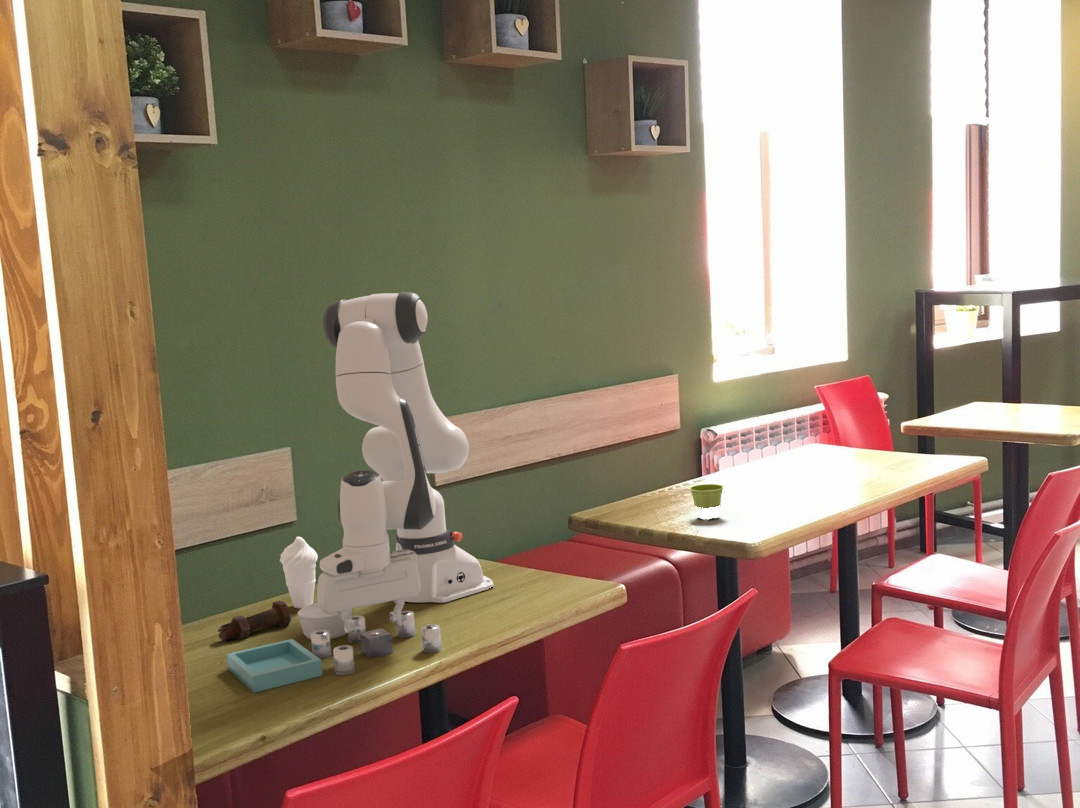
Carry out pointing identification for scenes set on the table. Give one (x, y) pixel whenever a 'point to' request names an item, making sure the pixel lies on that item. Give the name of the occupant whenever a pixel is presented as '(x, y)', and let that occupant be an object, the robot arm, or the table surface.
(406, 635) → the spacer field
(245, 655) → the tray
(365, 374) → the robot arm
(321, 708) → the table surface
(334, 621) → the ramekin
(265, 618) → the bolt
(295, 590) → the soft serve ice cream cone
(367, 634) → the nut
